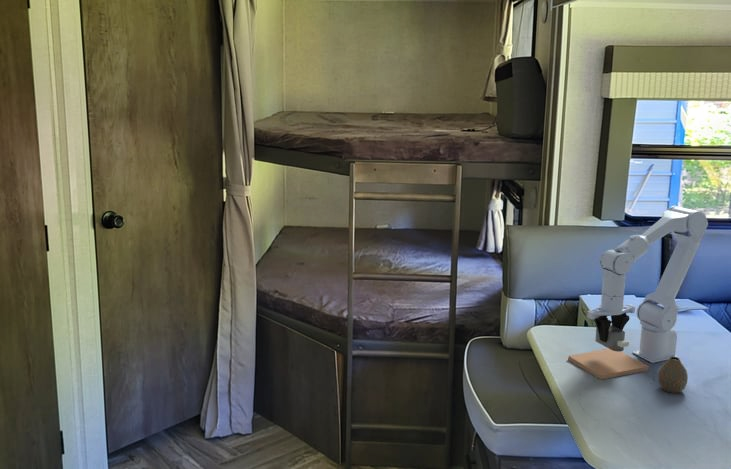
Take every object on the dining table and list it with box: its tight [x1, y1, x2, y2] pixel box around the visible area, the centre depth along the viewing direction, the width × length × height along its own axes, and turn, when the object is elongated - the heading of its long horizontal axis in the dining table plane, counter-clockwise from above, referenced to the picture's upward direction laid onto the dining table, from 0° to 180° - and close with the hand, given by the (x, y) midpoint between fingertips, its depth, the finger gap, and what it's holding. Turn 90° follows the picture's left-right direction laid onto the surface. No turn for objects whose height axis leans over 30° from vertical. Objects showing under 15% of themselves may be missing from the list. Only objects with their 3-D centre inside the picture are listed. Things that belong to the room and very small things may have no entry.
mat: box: [568, 348, 649, 380], centre depth 185 cm, size 16×14×1 cm
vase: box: [657, 356, 688, 394], centre depth 169 cm, size 7×7×9 cm
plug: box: [594, 324, 630, 352], centre depth 183 cm, size 4×11×5 cm, turn 20°
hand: (609, 339), depth 183 cm, fingers closed on plug, 4 cm apart
